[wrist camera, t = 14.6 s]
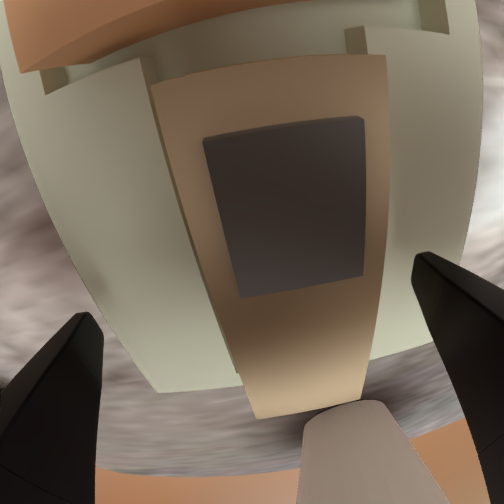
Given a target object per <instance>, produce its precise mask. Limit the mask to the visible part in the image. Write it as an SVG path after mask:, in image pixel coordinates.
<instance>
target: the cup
mask: <svg viewBox="0 0 504 504" xmlns="http://www.w3.org/2000/svg"><path fill="white" fill-rule="evenodd" d="M296 504H450V502H449V501H448V499H447V497H446V496H445V494H444V493H443V491H442V490H441V488H440V487H439V485H438V484H437V482H436V480H435V479H434V478H433V476H432V474H431V473H430V471H429V470H428V468H427V467H426V465H425V464H424V462H423V461H422V459H421V458H420V456H419V455H418V454H417V452H416V450H415V449H414V447H413V446H412V444H411V443H410V441H409V440H408V438H407V437H406V435H405V434H404V432H403V431H402V429H401V428H400V426H399V425H398V423H397V422H396V420H395V419H394V417H393V416H392V414H391V413H390V412H389V410H388V409H387V407H386V406H385V404H384V403H382V402H381V401H377V400H361V401H355V402H351V403H346V404H343V405H340V406H337V407H334V408H331V409H329V410H326V411H324V412H322V413H320V414H318V415H317V416H315V417H313V418H312V419H311V420H309V421H308V422H307V423H306V425H305V426H304V431H303V443H302V454H301V464H300V474H299V484H298V493H297V501H296Z"/></svg>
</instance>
